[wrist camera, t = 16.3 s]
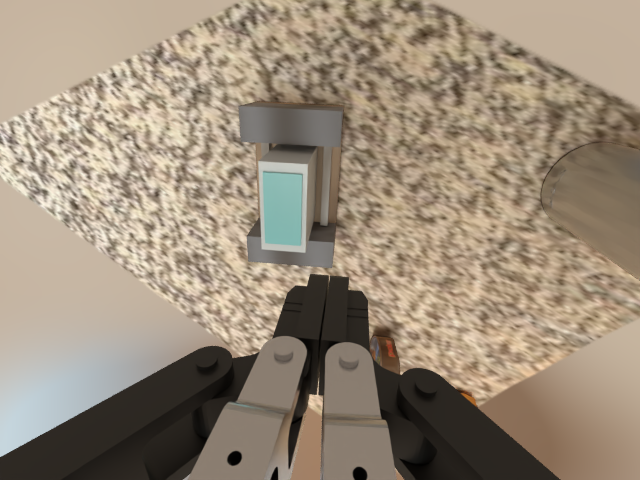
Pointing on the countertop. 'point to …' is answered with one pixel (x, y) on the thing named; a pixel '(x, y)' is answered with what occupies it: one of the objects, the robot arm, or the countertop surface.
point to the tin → (385, 353)
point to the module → (287, 196)
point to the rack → (325, 132)
